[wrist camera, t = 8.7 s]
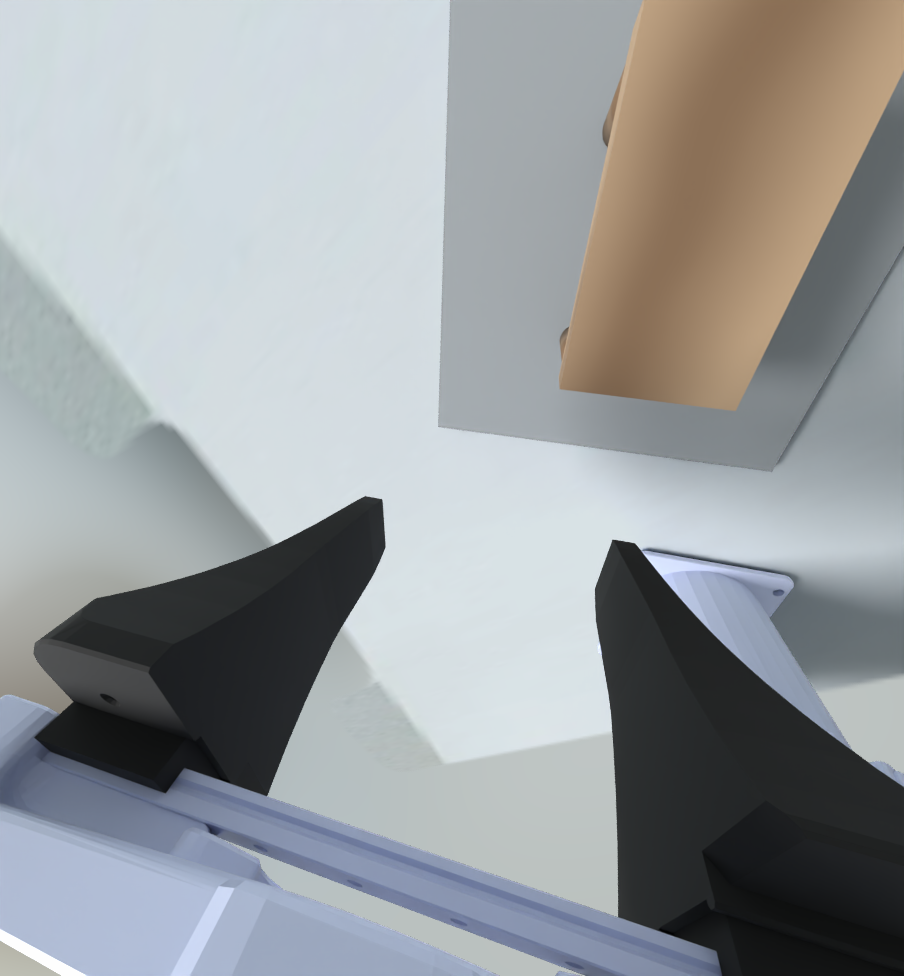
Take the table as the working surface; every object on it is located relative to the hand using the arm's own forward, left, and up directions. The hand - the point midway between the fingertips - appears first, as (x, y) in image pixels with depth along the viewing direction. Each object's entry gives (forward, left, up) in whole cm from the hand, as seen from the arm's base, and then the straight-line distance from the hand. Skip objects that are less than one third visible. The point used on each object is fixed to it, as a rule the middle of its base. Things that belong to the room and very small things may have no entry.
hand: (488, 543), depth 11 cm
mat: (+8, -4, -9) cm, 13 cm away
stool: (+8, -4, -9) cm, 13 cm away
